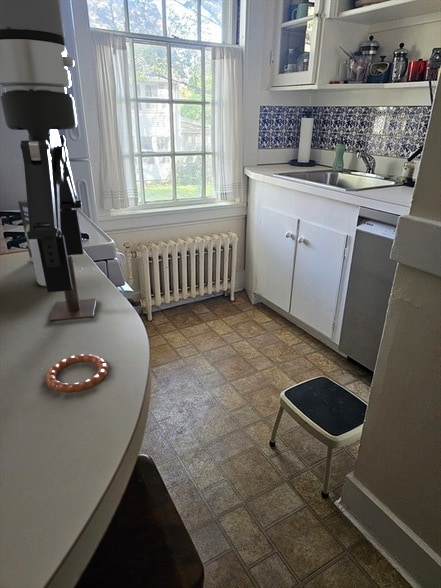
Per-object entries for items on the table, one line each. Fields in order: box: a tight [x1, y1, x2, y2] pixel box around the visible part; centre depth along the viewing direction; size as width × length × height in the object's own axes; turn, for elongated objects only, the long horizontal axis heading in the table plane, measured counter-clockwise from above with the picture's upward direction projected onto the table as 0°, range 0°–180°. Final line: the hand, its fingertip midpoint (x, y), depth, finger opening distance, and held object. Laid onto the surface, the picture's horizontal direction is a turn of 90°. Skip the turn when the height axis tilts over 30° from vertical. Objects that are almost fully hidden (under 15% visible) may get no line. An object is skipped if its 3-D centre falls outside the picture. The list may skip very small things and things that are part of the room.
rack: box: [48, 255, 98, 323], centre depth 76 cm, size 8×8×12 cm
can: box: [29, 239, 46, 287], centre depth 90 cm, size 6×6×12 cm
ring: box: [44, 353, 109, 393], centre depth 59 cm, size 9×9×1 cm
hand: (68, 270), depth 52 cm, fingers open, 13 cm apart
